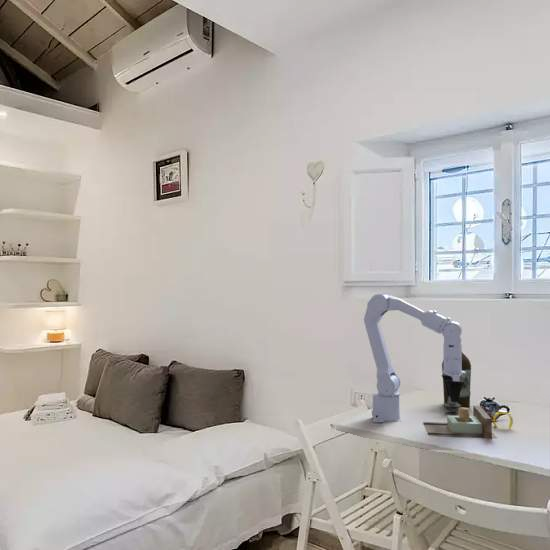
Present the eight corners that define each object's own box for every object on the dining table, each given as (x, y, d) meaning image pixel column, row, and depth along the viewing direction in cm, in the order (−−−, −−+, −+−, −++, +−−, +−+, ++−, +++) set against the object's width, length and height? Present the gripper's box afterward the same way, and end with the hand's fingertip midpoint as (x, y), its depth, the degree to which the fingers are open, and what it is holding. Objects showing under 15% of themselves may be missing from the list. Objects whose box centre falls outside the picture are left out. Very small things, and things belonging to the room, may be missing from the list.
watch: (510, 428, 170) (511, 410, 170) (513, 431, 168) (514, 412, 168) (491, 427, 171) (492, 409, 171) (494, 429, 168) (495, 411, 168)
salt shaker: (462, 417, 184) (462, 383, 184) (445, 416, 185) (444, 382, 185) (459, 412, 189) (459, 380, 189) (443, 412, 190) (442, 379, 190)
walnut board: (428, 438, 160) (428, 416, 160) (422, 423, 176) (422, 404, 176) (497, 440, 157) (496, 418, 157) (484, 425, 173) (484, 405, 173)
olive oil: (437, 403, 204) (436, 339, 204) (461, 401, 207) (460, 338, 207) (452, 409, 194) (451, 342, 194) (477, 407, 196) (476, 341, 196)
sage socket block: (452, 433, 163) (451, 423, 163) (447, 425, 171) (447, 415, 171) (482, 434, 161) (482, 424, 161) (475, 426, 170) (475, 416, 170)
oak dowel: (459, 428, 165) (459, 409, 165) (458, 425, 168) (457, 407, 168) (470, 429, 164) (470, 410, 164) (468, 426, 168) (468, 407, 168)
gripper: (469, 361, 164) (469, 404, 164) (461, 354, 178) (461, 394, 178) (446, 361, 165) (446, 404, 165) (439, 354, 179) (440, 393, 179)
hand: (452, 399), depth 172 cm, fingers open, 7 cm apart
